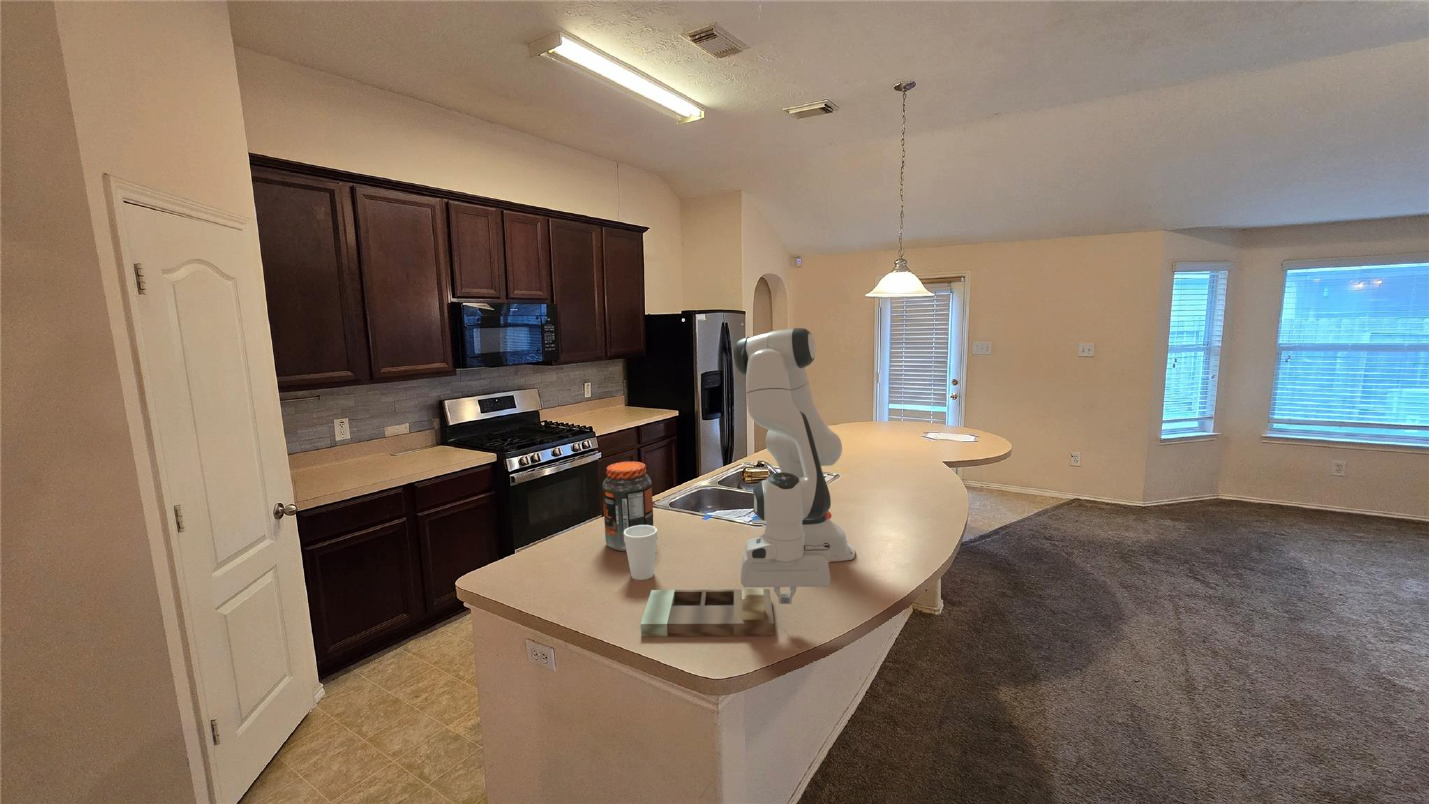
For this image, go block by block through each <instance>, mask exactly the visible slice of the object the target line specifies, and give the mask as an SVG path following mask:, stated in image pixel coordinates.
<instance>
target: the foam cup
mask: <svg viewBox="0 0 1429 804" xmlns="http://www.w3.org/2000/svg"><path fill="white" fill-rule="evenodd" d="M657 541H658V527H655V526H654V525H653V526H650V525H637V526H632V527H629V528H627V529H626V530H624V542H625V545H626V551H625V552H626V556H627V561H628V566H629V570H630V571H629V573H630V575H631V578H632V579H633V580H636V581H644V580H648V579H650V578H652V577H653V576H654V575H655V574H654V573H655V563H656V553H657V552H656V551H657Z"/></svg>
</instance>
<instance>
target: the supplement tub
mask: <svg viewBox="0 0 1429 804" xmlns="http://www.w3.org/2000/svg"><path fill="white" fill-rule="evenodd" d="M605 473H606V475H607V476H606V477H605V478H604V480H603V482H602V486H601V488H602V503H603V505H602V506H603V517H604V518H603V520H604V534H605V535H604V536H605V543H606V545H607V546H608V547H609V548H611V549H612V550H616V551H621V552H627V551H626V545H625V542H624V530H626V529H627V528H629V527H632V526H637V525H650V526H654V505H653V502H654V501H653V485H652V484H653V482H652V479H651V478H650V476H649V475H648V474H647V469H646V464H645V463H643V462H640V461H620V462H615V463H612V464H610V465H608V466H607V467H606V472H605Z"/></svg>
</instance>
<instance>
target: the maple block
mask: <svg viewBox="0 0 1429 804" xmlns="http://www.w3.org/2000/svg"><path fill="white" fill-rule="evenodd" d="M741 589H742V620H765V618H764V592H763V589H764V587H750V588H741Z"/></svg>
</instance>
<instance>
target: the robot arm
mask: <svg viewBox="0 0 1429 804" xmlns="http://www.w3.org/2000/svg"><path fill="white" fill-rule="evenodd" d="M816 350H817V346H816V342H815V339H814V337H813V335H812V333H811V332H810V331H809V330H808V329H807V328H804V327H803V328H802V327H794V328H793V329H779V330H778V329H777V330H772V331H769V332H766V333H765V332H764V333H761V334H757V335H753V336H750V337H749V336H747V337H744V338H742V339H740V340H738V341H737V343H736V344H735V345H734V348H733V361H734V364H735V367H736V369H737V370H738V372H739V373H740V374H742V375H743V376H745V394H746V397H745V398H746V404H747V405H746V406H747V410H748V415H749V417H750V418H751V419H752V421H753V422H754V423H756V425H758V426H760V427H762V428H764V429H766V430H768V431H767V432H766V435H765V439H764V441H765V443H764V444H765V447H766V450H767V451H768V452H769V454H771V456H772V457H773V458H774V460H775V462H776V464H777V466H778V469H779V471H780V472H775V473H772V474H770V475H768V477H767V478H766V479H763V480H760V481H759V482H757V484H755V486H754V487H753V489H752V492H753V506H752V507H753V509H752V510H753V513H754V514H755V515H756V516H757V517H758V518H759V519H760V520H761V521H765V523H766V524H765V530H764V534H761V535H759V536H756V537H753V538H752V537H751V538H749V539H747V540H746V541H745V552H744V553H743V556H742V560H741V564H740V565H741V566H740V584H741V585H742V586H743V588H773V591H774V593H775V595H776V597H778V605H792V604H793V602H792V601H793V597H794V596H795V594H796V592H797V588H807V587H808V588H809V587H810V588H818V587H820V588H823V587H827V586H828V585H830V584H831V574H830V567H829V563H832V562H842V561H843V562H844V561H850V560H851V561H852V560H854V559H855V556H856V551H855V548H854V546H853V544H851V543H850V542H849V541H848V540H847V536H846V533H845V532H844V530H843V528H842V527H841V526H839V524H837V523H835V521H833V520H831V518H832V516H833V515H832V513H831V512H830V511H829V510H830V508H831V504H832V501H831V493H830V490H829V487H828V485H827V481H826V478H825V475H824V472H823V469H822V467H828V466H829V467H830V466H834V465H835V464H836V463H837V462H838V461H839V460H840V457H841V456H842V452H843V444H842V440H841V438H840V436H839V435H838V434H836V433H835V431H833V430H832V429H831V428H829V426H828V425H827V424H826V423H825V421H824V420H823V418H822V417H821V415H820V414H819V412H818V410H817V408H816V406H815V402H814V399H813V395H812V392H811V387H810V383H809V379H808V378H809V377H808V374H807V369H806V367H808V366H810V365H811V364H812V363H813V362H814V360H815V357H816ZM781 588H789V591H788V593H781Z"/></svg>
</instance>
